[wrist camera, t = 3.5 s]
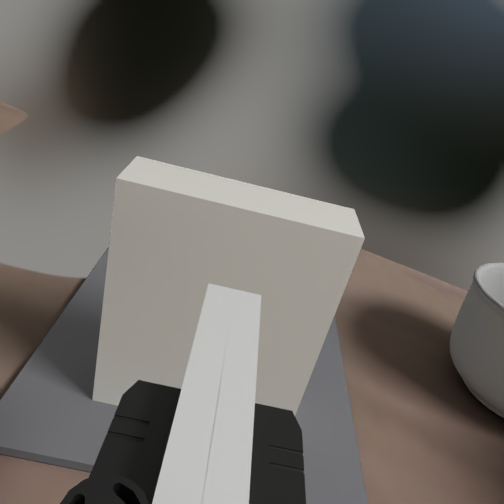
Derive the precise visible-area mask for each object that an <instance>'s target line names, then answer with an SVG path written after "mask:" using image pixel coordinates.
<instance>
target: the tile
mask: <svg viewBox="0 0 504 504" xmlns="http://www.w3.org/2000/svg"><path fill="white" fill-rule="evenodd" d="M364 239H365V238H364V235H363V232H362V230H361V227H360V224H359V221H358V218H357V216H356V213H355V210H354V209H350V208H346V207H342V206H338V205H334V204H330V203H326V202H322V201H318V200H314V199H310V198H306V197H302V196H298V195H293V194H289V193H285V192H281V191H277V190H273V189H269V188H265V187H261V186H257V185H253V184H249V183H245V182H240V181H237V180H233V179H229V178H224V177H220V176H216V175H212V174H208V173H204V172H200V171H196V170H192V169H188V168H183V167H179V166H176V165H171V164H167V163H163V162H159V161H155V160H151V159H147V158H143V157H139V156H137V157H136V158H135V159H134V160H133V161H132V162H131V163H130V164H129V165H128V166H127V167H126V169H125V170H124V171H123V172H122V173H121V174H120V175H119V176H118V177H117V178H116V187H115V197H114V205H113V215H112V224H111V233H110V242H109V251H108V260H107V270H106V279H105V288H104V297H103V306H102V316H101V325H100V334H99V343H98V352H97V361H96V371H95V380H94V389H93V398H92V400H94V401H98V402H103V403H108V404H112V405H117V406H118V405H119V402H120V400H121V397H122V395H123V394H124V393H125V392H126V391H127V390H128V389H129V388H130V387H131V386H132V385H134V384H135V383H136V382H137V381H138V380H141V381H146V382H151V383H156V384H160V385H165V386H170V387H175V388H179V389H182V385H183V381H184V377H185V373H186V369H187V365H188V361H189V358H190V354H191V350H192V346H193V342H194V338H195V334H196V330H197V326H198V323H199V319H200V315H201V311H202V307H203V303H204V299H205V295H206V291H207V287H208V284H214V285H218V286H223V287H227V288H232V289H236V290H241V291H245V292H249V293H254V294H258V295H261V310H260V327H259V343H258V360H257V377H256V393H255V403H257V404H262V405H267V406H272V407H276V408H281V409H286V410H291V411H293V413H294V415H296V412H297V409H298V407H299V404H300V402H301V399H302V397H303V394H304V392H305V389H306V387H307V384H308V381H309V379H310V376H311V374H312V371H313V369H314V366H315V364H316V361H317V359H318V356H319V353H320V351H321V348H322V346H323V343H324V341H325V338H326V336H327V333H328V331H329V328H330V325H331V323H332V320H333V318H334V315H335V313H336V310H337V308H338V305H339V303H340V300H341V297H342V295H343V292H344V290H345V287H346V285H347V282H348V280H349V277H350V274H351V272H352V269H353V267H354V264H355V262H356V259H357V257H358V254H359V252H360V249H361V246H362V244H363V241H364Z"/></svg>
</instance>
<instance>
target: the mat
mask: <svg viewBox="0 0 504 504" xmlns="http://www.w3.org/2000/svg"><path fill="white" fill-rule="evenodd" d="M108 251H109V247H108V248H107V250H106V251H105V253H104V254H103V256H102V257H101V259H100V260H99V261H98V263H97V264H96V266H95V267H94V268H93V270H92V271H91V273H90V274H89V275H88V277H87V278H86V280H85V281H84V282H83V284H82V285H81V287H80V288H79V290H78V291H77V292H76V294H75V295H74V297H73V298H72V299H71V301H70V302H69V304H68V305H67V307H66V308H65V309H64V311H63V312H62V314H61V315H60V316H59V318H58V319H57V321H56V322H55V324H54V325H53V326H52V328H51V329H50V331H49V332H48V333H47V335H46V336H45V338H44V339H43V341H42V342H41V343H40V345H39V346H38V348H37V349H36V350H35V352H34V353H33V355H32V356H31V358H30V359H29V360H28V362H27V363H26V365H25V366H24V367H23V369H22V370H21V372H20V373H19V375H18V376H17V377H16V379H15V380H14V382H13V383H12V384H11V386H10V387H9V389H8V390H7V392H6V393H5V394H4V396H3V397H2V399H1V400H0V454H3V455H8V456H13V457H18V458H23V459H28V460H33V461H38V462H42V463H47V464H52V465H57V466H62V467H67V468H72V469H77V470H82V471H87V472H91V471H92V469H93V466H94V464H95V461H96V459H97V456H98V454H99V451H100V449H101V446H102V444H103V442H104V439H105V437H106V435H107V432H108V429H109V427H110V424H111V422H112V419H113V418H114V415H115V412H116V410H117V407H118V406H117V405H112V404H108V403H103V402H98V401H94V400H92V398H93V389H94V380H95V371H96V361H97V352H98V343H99V334H100V325H101V316H102V306H103V297H104V288H105V279H106V270H107V260H108ZM295 417H296V419H297V421H298V423H299V425H300V427H301V430H302V438H303V456H304V474H305V491H306V504H368V502H367V497H366V491H365V485H364V480H363V474H362V468H361V463H360V457H359V451H358V445H357V440H356V434H355V428H354V423H353V417H352V411H351V406H350V400H349V394H348V388H347V383H346V377H345V371H344V366H343V360H342V354H341V349H340V343H339V337H338V331H337V326H336V320H335V315H334V318H333V320H332V323H331V325H330V328H329V331H328V333H327V336H326V338H325V341H324V343H323V346H322V348H321V351H320V353H319V356H318V359H317V361H316V364H315V366H314V369H313V371H312V374H311V376H310V379H309V381H308V384H307V387H306V389H305V392H304V394H303V397H302V399H301V402H300V404H299V407H298V409H297V412H296V415H295Z"/></svg>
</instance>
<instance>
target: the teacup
mask: <svg viewBox="0 0 504 504" xmlns="http://www.w3.org/2000/svg"><path fill="white" fill-rule="evenodd" d="M450 354H451V357H452V361H453V363H454V365H455V367H456V369H457V371H458V373H459V374H460V375H461V377H462V379H463V381H464V383H465V384H466V386H467V388H468V389H469V390H470V391H471V393H472V394H473V395H474V396H475V397H476V398H477V399H478V400H479V401H480V402H481V403H482V404H483V405H485V406H486V407H487V408H489V409H490V410H491V411H493V412H494V413H496V414H497V415H499V416H501V417H502V418H504V263H489V264H484V265H482V266H480V267H478V268H477V269H476V270H475V273H474V277H473V283H472V285H471V287H470V289H469V291H468V293H467V295H466V297H465V300H464V302H463V304H462V306H461V309H460V311H459V313H458V316H457V318H456V321H455V323H454V326H453V329H452V332H451V337H450Z"/></svg>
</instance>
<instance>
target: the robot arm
mask: <svg viewBox="0 0 504 504" xmlns="http://www.w3.org/2000/svg"><path fill="white" fill-rule="evenodd" d="M260 310H261V295H258V294H254V293H249V292H245V291H241V290H236V289H232V288H227V287H223V286H218V285H214V284H208V287H207V291H206V295H205V299H204V303H203V307H202V311H201V315H200V319H199V323H198V326H197V330H196V334H195V338H194V342H193V346H192V350H191V354H190V358H189V361H188V365H187V369H186V373H185V377H184V381H183V385H182V389H179V388H175V387H170V386H165V385H160V384H156V383H151V382H146V381H141V380H138V381H137V382H136V383H135V384H134V385H132V386H131V387H130V388H129V389H128V390H127V391H126V392H125V393H124V394H123V395H122V397H121V400H120V402H119V405H118V407H117V410H116V412H115V415H114V418H113V419H112V422H111V424H110V427H109V429H108V432H107V435H106V437H105V439H104V442H103V444H102V446H101V449H100V451H99V454H98V456H97V459H96V461H95V464H94V466H93V469H92V471H91V474H90V476H89V478H88V479H85V480H83V481H82V482H80V483H79V484H78V485H76V486H75V487H73V488H72V489H71V490H69V492H68V493H67V495H66V496H65V497H64V499H63V500H62V502H61V503H60V504H306V491H305V474H304V456H303V438H302V430H301V427H300V425H299V423H298V421H297V419H296V417H295V415H294V413H293V411H291V410H286V409H281V408H276V407H272V406H267V405H262V404H257V403H255V393H256V377H257V360H258V343H259V327H260Z"/></svg>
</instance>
